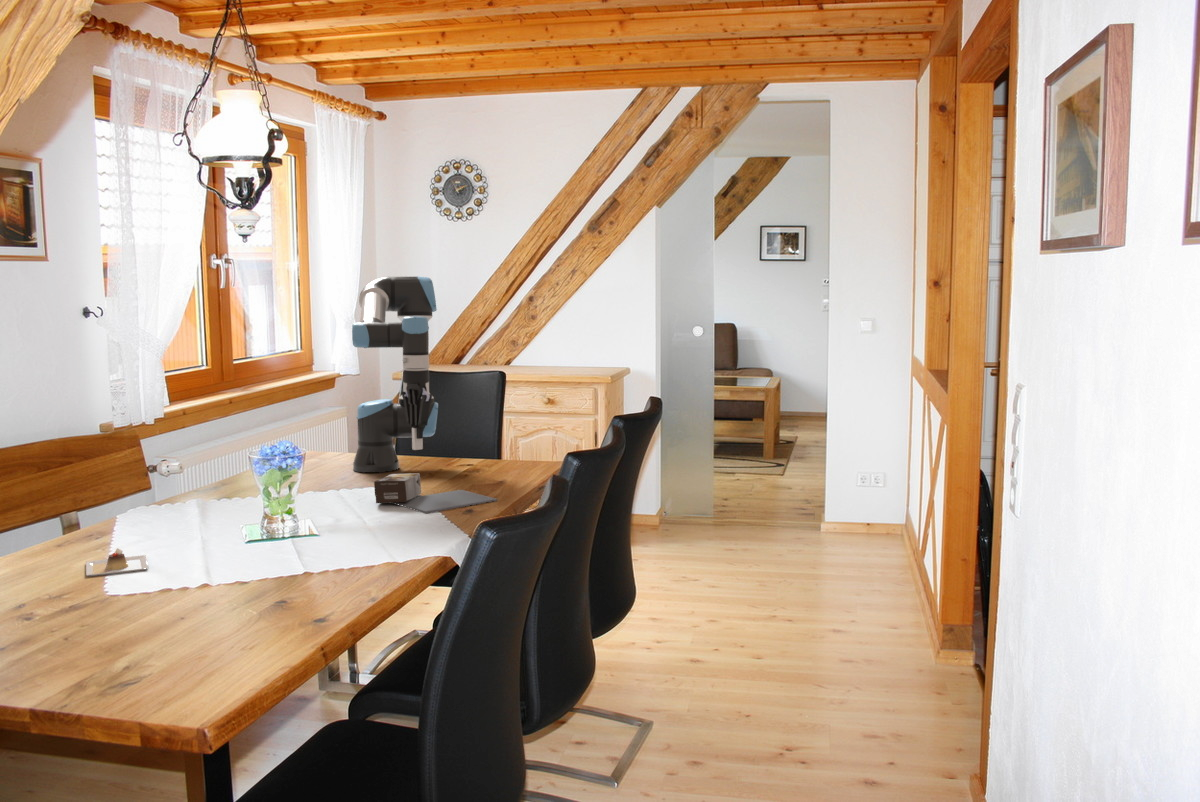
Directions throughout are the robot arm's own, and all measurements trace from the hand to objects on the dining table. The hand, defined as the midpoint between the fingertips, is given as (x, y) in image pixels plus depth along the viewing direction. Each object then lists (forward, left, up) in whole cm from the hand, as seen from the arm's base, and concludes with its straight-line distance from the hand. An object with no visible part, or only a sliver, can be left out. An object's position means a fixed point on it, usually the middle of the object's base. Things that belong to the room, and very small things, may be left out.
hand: (417, 449), depth 292 cm
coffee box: (-3, -2, -10) cm, 11 cm away
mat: (+14, 0, -14) cm, 19 cm away
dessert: (+22, -90, -14) cm, 94 cm away
